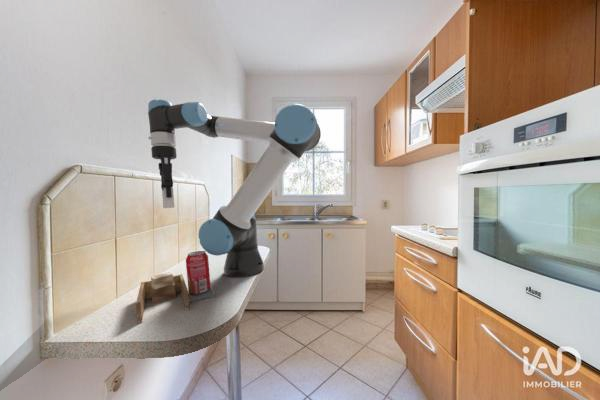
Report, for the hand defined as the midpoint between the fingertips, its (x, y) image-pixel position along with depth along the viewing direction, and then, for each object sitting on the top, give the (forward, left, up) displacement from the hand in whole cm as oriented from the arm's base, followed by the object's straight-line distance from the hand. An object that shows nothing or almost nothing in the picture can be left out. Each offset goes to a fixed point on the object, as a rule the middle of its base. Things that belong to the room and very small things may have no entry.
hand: (168, 207), depth 85 cm
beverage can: (-6, +17, -26) cm, 32 cm away
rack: (+4, +17, -27) cm, 32 cm away
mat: (-6, +17, -27) cm, 32 cm away
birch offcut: (+4, +12, -23) cm, 26 cm away
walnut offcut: (+3, +12, -27) cm, 30 cm away
